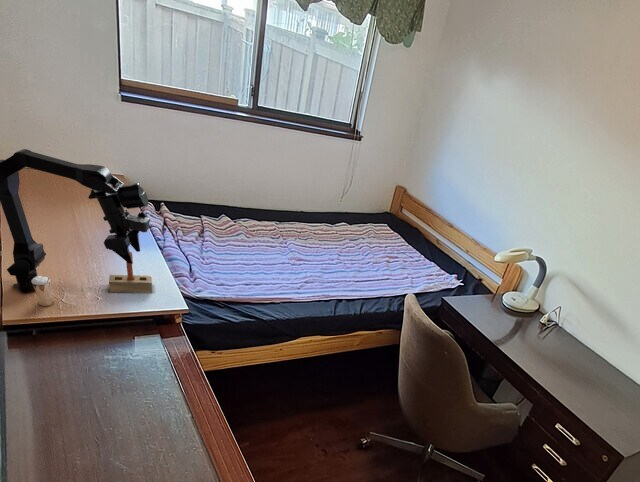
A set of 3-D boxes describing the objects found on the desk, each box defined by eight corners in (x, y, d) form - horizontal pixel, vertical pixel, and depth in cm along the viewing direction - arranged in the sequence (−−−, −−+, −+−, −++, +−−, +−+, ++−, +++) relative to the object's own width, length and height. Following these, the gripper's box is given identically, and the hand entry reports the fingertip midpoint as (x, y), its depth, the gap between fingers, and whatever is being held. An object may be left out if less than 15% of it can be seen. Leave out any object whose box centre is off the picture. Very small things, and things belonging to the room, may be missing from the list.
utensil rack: (111, 284, 159) (109, 274, 157) (152, 285, 165) (151, 275, 163) (110, 292, 156) (108, 282, 153) (152, 292, 161) (151, 282, 159)
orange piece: (128, 291, 158) (125, 254, 151) (129, 286, 161) (125, 249, 154) (135, 291, 159) (131, 255, 152) (135, 286, 162) (131, 250, 154)
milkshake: (48, 309, 141) (42, 280, 135) (33, 304, 141) (26, 275, 136) (60, 303, 145) (54, 275, 139) (45, 298, 145) (38, 270, 139)
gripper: (132, 217, 131) (152, 266, 141) (148, 197, 146) (166, 242, 155) (92, 222, 130) (116, 271, 140) (112, 202, 145) (133, 247, 155)
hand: (134, 257), depth 147 cm, fingers open, 9 cm apart
